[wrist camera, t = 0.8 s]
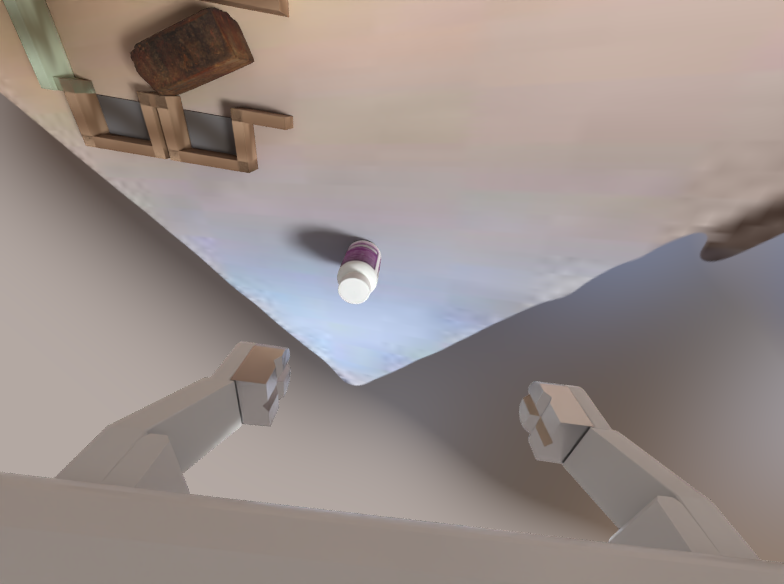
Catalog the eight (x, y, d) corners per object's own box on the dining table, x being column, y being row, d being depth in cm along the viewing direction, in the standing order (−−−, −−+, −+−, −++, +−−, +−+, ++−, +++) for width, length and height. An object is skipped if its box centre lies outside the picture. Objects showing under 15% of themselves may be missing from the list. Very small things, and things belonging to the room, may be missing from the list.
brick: (236, 15, 29) (209, 2, 25) (257, 62, 31) (235, 57, 27) (154, 55, 31) (118, 49, 27) (179, 97, 33) (148, 97, 30)
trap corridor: (13, -53, 27) (-28, -68, 25) (288, 0, 28) (276, -9, 26) (89, 140, 36) (66, 143, 34) (295, 175, 37) (286, 180, 35)
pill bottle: (340, 246, 43) (323, 281, 35) (371, 233, 41) (362, 266, 33) (356, 275, 45) (345, 313, 38) (387, 264, 44) (382, 301, 36)
